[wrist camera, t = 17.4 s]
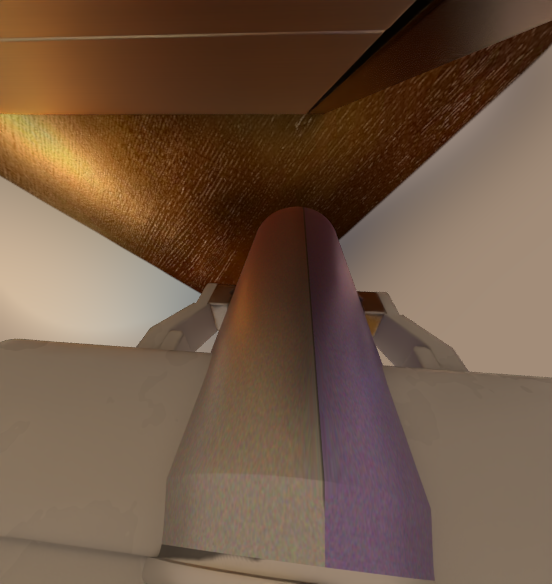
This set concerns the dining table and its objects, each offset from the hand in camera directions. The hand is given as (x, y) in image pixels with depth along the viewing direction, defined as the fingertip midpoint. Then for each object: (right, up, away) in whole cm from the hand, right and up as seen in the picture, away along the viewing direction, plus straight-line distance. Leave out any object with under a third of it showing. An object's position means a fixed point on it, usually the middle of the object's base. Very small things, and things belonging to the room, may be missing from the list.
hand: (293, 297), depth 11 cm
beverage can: (+1, +4, +5) cm, 6 cm away
